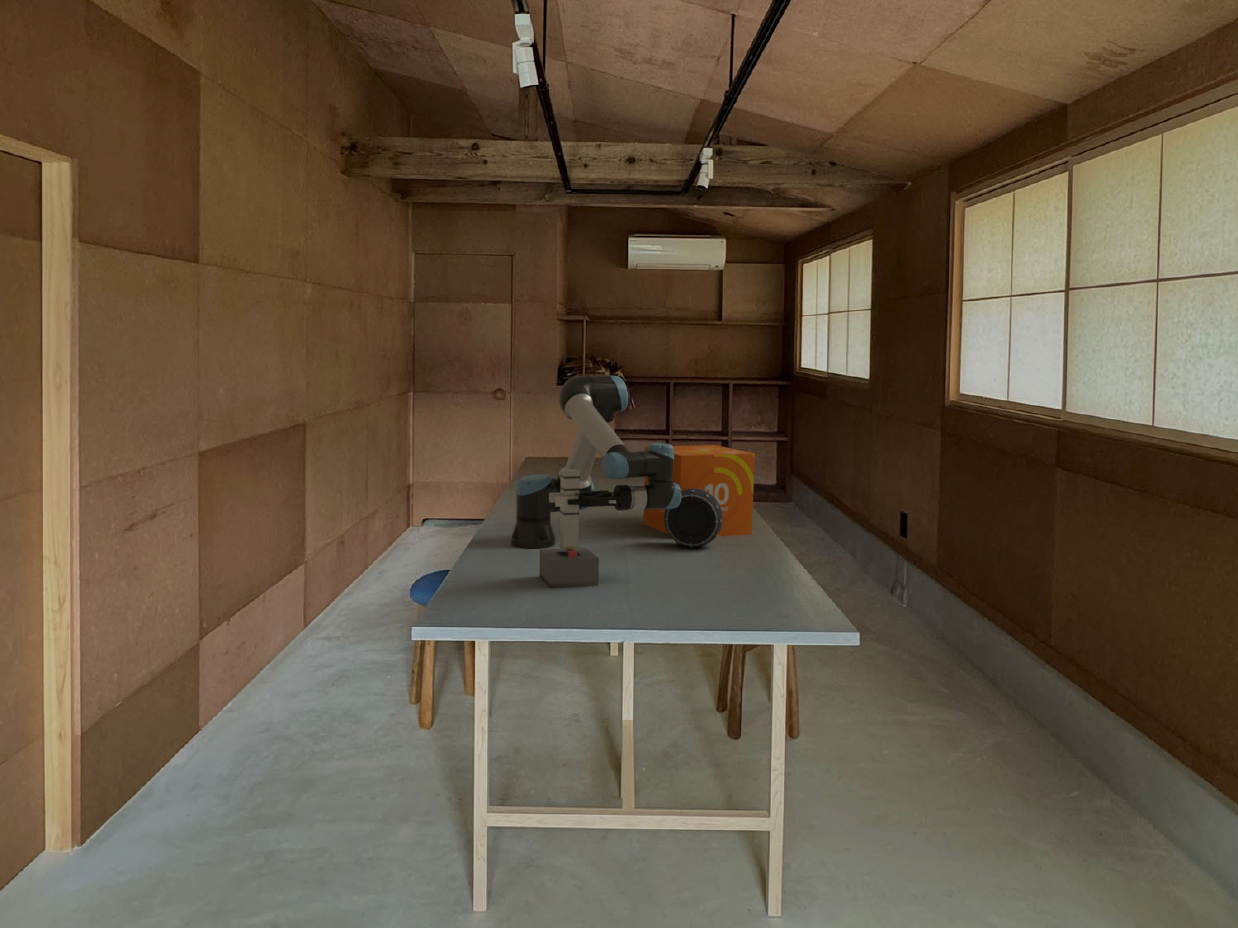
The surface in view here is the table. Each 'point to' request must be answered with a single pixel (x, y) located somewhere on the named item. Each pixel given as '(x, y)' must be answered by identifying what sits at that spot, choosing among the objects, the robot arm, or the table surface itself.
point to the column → (569, 510)
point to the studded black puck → (694, 519)
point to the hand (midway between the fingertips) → (552, 499)
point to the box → (714, 484)
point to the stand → (569, 568)
